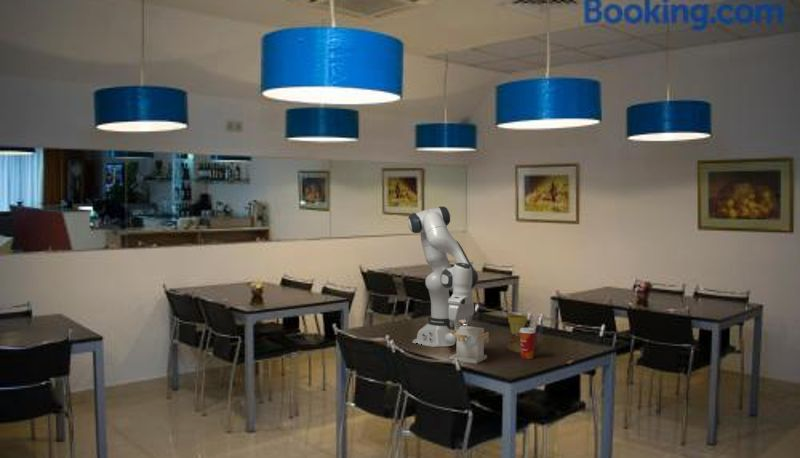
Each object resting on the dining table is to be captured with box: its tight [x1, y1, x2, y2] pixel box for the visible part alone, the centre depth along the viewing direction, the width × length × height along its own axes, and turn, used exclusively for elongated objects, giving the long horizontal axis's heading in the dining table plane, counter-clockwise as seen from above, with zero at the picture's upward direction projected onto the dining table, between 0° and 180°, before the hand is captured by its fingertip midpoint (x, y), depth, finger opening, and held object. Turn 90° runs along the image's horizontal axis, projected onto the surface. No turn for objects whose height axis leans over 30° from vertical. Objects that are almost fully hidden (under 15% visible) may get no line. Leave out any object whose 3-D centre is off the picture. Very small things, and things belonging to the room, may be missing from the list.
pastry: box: [507, 333, 535, 354], centre depth 336 cm, size 13×15×8 cm
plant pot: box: [507, 314, 528, 335], centre depth 374 cm, size 10×10×10 cm
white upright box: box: [448, 325, 488, 364], centre depth 314 cm, size 18×14×14 cm
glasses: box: [445, 329, 490, 347], centre depth 313 cm, size 16×14×5 cm
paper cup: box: [519, 327, 536, 360], centre depth 318 cm, size 8×8×14 cm
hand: (461, 327), depth 308 cm, fingers open, 8 cm apart
